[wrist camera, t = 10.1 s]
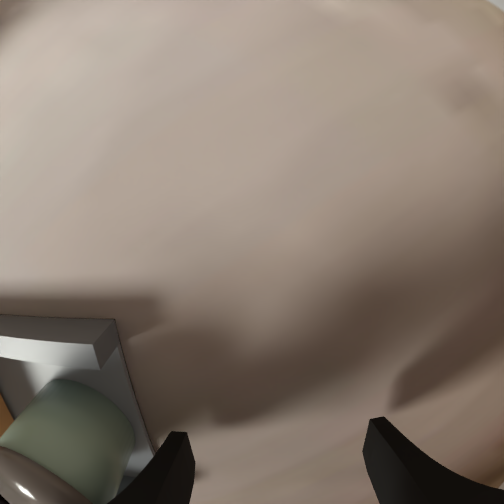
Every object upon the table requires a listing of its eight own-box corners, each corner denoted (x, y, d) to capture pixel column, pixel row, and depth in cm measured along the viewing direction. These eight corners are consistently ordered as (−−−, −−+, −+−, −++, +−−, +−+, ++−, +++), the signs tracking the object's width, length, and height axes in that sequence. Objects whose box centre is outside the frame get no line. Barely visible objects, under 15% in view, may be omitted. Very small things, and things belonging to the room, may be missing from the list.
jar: (125, 386, 12) (73, 484, 6) (148, 469, 13) (122, 555, 7) (24, 367, 11) (-42, 433, 6) (56, 448, 13) (16, 515, 7)
